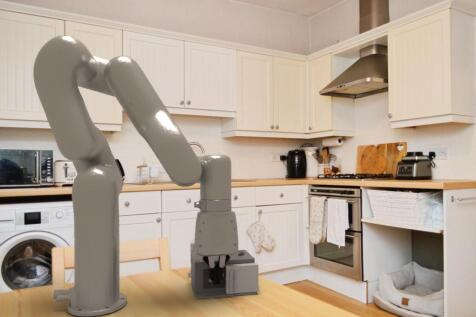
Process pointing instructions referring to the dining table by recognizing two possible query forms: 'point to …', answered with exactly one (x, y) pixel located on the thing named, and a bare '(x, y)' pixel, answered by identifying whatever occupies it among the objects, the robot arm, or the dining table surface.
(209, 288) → the camera case
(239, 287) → the door
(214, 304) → the dining table surface
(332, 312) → the dining table surface
